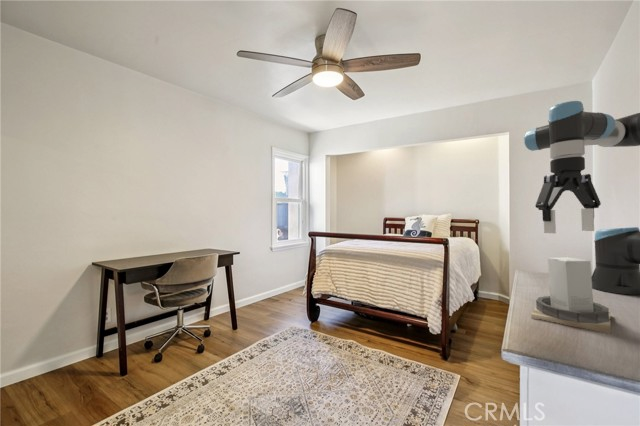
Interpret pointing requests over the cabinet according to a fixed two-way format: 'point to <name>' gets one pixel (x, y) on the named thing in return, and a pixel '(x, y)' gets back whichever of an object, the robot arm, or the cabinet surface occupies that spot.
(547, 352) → the cabinet surface
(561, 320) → the collar
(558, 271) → the skincare box
